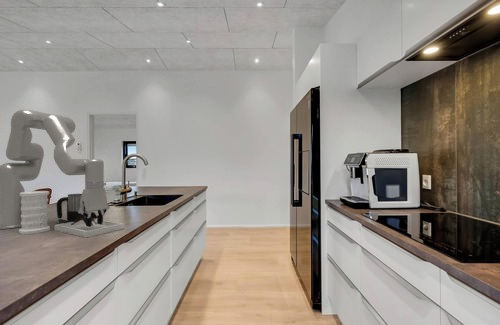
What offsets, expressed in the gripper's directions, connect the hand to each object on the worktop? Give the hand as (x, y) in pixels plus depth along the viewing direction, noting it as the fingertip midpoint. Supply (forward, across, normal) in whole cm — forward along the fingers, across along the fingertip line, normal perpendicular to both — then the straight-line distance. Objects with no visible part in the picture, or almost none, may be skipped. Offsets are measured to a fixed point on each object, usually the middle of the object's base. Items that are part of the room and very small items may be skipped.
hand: (94, 224), depth 129 cm
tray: (+3, 0, -4) cm, 5 cm away
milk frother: (+3, -4, -26) cm, 26 cm away
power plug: (+1, +2, -6) cm, 6 cm away
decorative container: (+3, +14, -24) cm, 28 cm away
